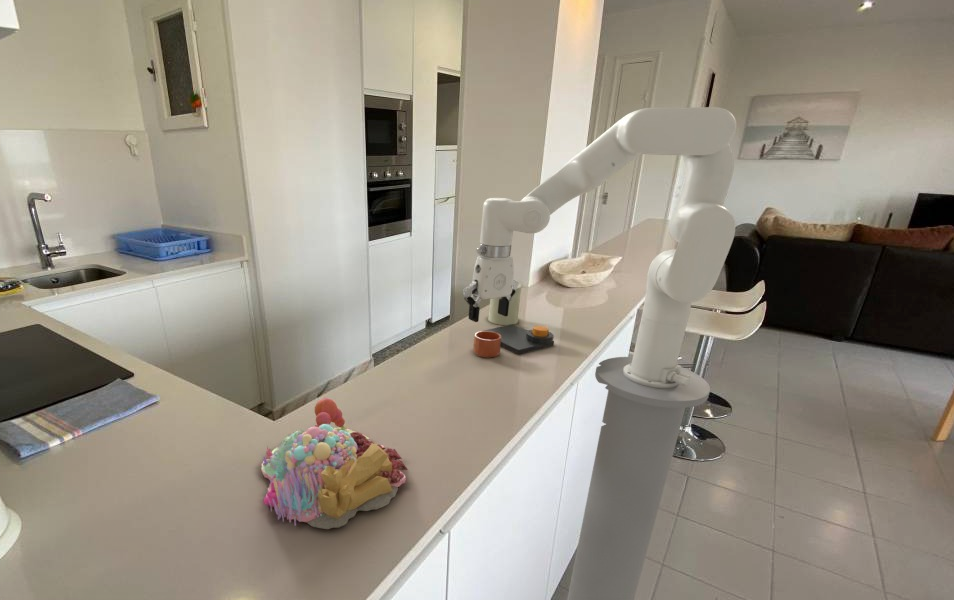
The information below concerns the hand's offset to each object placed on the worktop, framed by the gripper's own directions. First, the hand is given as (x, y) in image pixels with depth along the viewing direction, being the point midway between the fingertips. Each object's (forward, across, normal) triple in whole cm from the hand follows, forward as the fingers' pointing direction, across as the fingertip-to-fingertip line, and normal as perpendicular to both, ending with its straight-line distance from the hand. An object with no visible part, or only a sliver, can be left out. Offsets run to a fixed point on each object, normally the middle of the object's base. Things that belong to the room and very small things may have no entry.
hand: (488, 317), depth 123 cm
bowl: (+10, 0, 0) cm, 10 cm away
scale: (+10, +13, +3) cm, 17 cm away
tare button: (+7, +17, -2) cm, 19 cm away
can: (+10, +22, +18) cm, 30 cm away
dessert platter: (+10, -56, -28) cm, 64 cm away
